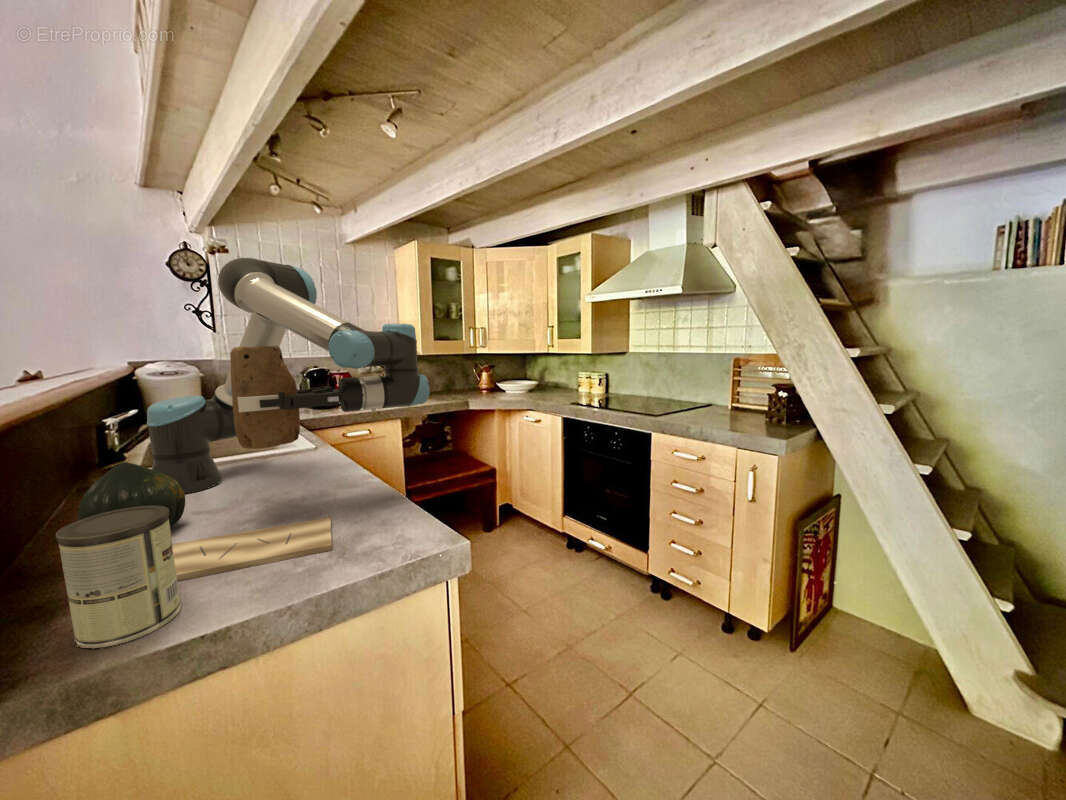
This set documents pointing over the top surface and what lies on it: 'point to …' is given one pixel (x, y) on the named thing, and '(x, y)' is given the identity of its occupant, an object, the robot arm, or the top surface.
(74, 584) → the coffee can
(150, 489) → the squash
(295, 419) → the block
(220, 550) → the board
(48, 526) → the top surface
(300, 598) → the top surface
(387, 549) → the top surface
